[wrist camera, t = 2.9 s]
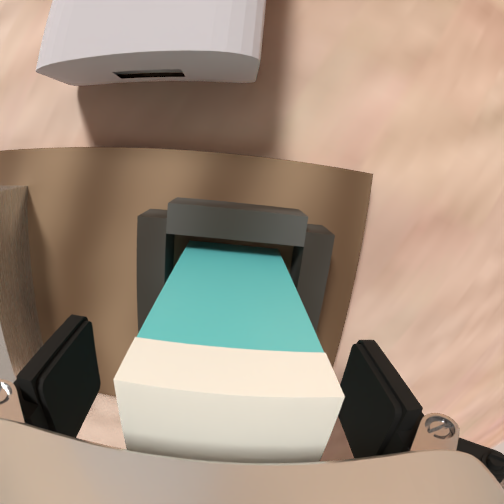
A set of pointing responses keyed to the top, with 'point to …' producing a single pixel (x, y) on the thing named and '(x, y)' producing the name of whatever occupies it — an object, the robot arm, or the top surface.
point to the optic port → (16, 285)
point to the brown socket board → (179, 231)
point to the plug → (228, 365)
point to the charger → (152, 40)
